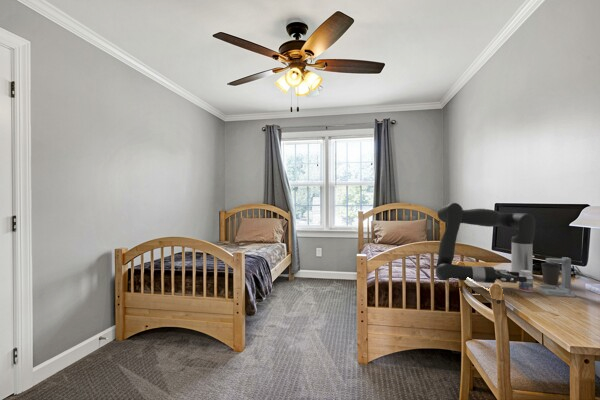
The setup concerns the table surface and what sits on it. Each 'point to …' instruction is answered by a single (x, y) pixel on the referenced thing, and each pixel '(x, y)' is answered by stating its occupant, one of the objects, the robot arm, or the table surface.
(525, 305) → the table surface
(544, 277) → the coffee cup
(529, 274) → the pill bottle
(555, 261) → the stand
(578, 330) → the table surface
